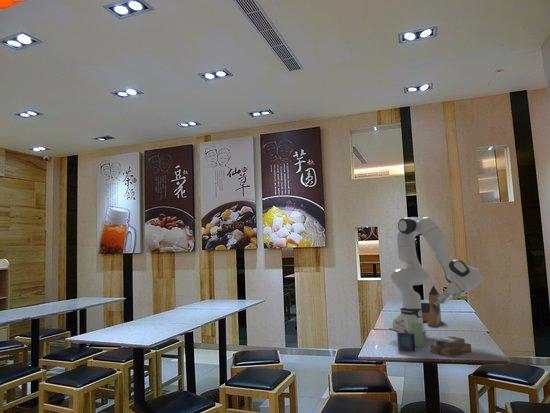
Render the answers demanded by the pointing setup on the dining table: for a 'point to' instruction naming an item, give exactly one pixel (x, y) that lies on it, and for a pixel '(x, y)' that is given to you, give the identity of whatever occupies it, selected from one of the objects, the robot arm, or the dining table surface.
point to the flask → (406, 341)
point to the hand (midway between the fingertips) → (436, 302)
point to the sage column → (418, 333)
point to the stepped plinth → (451, 350)
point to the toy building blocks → (431, 309)
